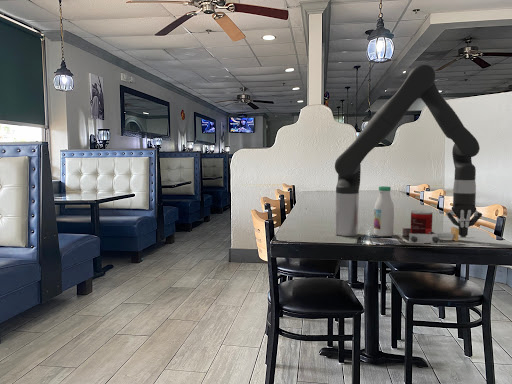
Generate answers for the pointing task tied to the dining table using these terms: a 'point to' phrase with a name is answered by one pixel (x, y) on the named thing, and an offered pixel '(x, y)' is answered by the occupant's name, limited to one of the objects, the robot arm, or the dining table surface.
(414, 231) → the canned food
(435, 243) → the track
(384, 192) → the milk bottle
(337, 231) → the robot arm
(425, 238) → the trolley
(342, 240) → the dining table surface
